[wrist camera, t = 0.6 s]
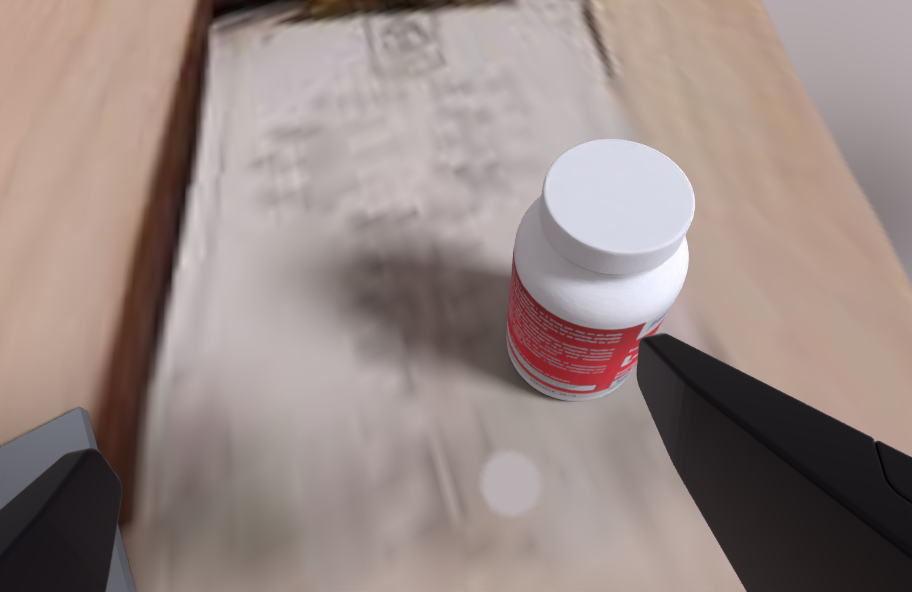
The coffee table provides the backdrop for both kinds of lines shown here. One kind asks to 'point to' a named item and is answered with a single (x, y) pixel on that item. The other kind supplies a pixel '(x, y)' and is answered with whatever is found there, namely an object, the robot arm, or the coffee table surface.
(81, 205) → the coffee table surface
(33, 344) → the coffee table surface
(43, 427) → the mat
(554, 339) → the pill bottle
